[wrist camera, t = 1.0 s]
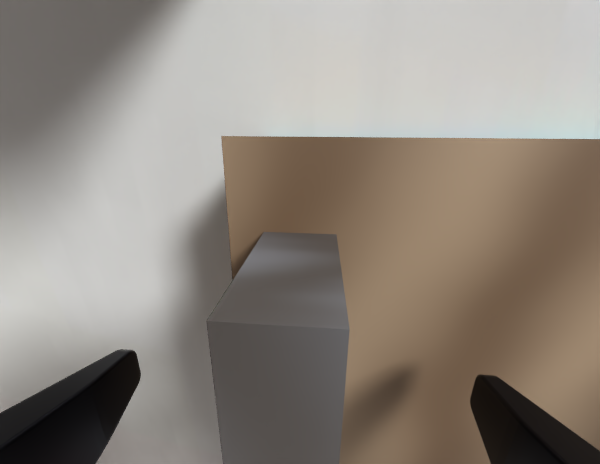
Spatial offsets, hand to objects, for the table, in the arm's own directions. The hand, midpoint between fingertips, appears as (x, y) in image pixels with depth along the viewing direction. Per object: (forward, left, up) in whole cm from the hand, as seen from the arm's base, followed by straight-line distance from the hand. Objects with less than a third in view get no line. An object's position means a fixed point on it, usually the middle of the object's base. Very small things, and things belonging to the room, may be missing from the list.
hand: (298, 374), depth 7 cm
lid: (-6, 0, -2) cm, 6 cm away
